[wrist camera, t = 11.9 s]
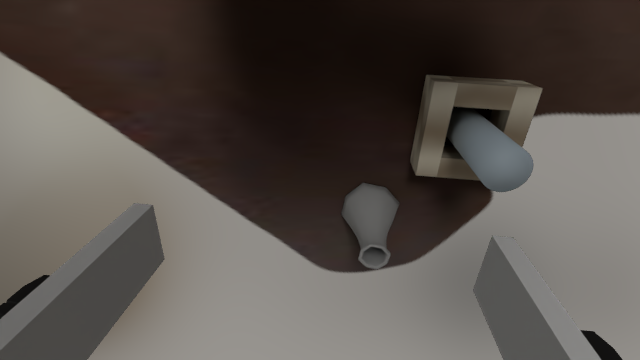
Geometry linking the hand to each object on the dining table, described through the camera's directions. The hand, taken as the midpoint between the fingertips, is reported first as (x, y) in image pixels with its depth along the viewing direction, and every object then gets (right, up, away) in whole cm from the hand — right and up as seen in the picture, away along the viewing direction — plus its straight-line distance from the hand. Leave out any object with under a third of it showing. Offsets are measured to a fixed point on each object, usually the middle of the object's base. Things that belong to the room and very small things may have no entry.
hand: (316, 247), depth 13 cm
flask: (+7, -1, +30) cm, 31 cm away
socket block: (+16, +9, +24) cm, 30 cm away
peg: (+16, +9, +24) cm, 30 cm away
